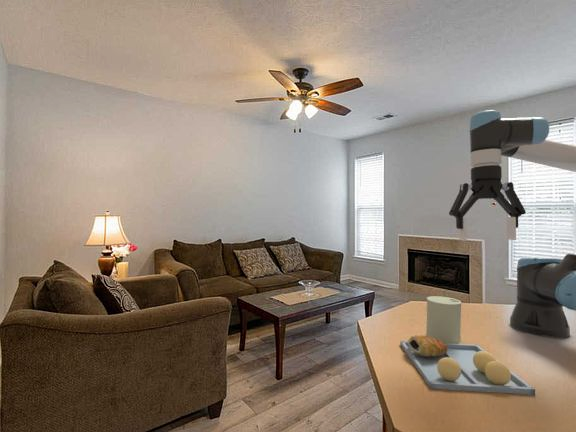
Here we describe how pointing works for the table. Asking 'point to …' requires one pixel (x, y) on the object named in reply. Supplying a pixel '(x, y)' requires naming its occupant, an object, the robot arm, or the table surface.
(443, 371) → the ball far
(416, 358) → the sorting tray
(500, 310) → the table surface
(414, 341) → the pastry
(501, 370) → the ball
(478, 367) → the ball
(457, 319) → the can
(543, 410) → the table surface
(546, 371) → the table surface
